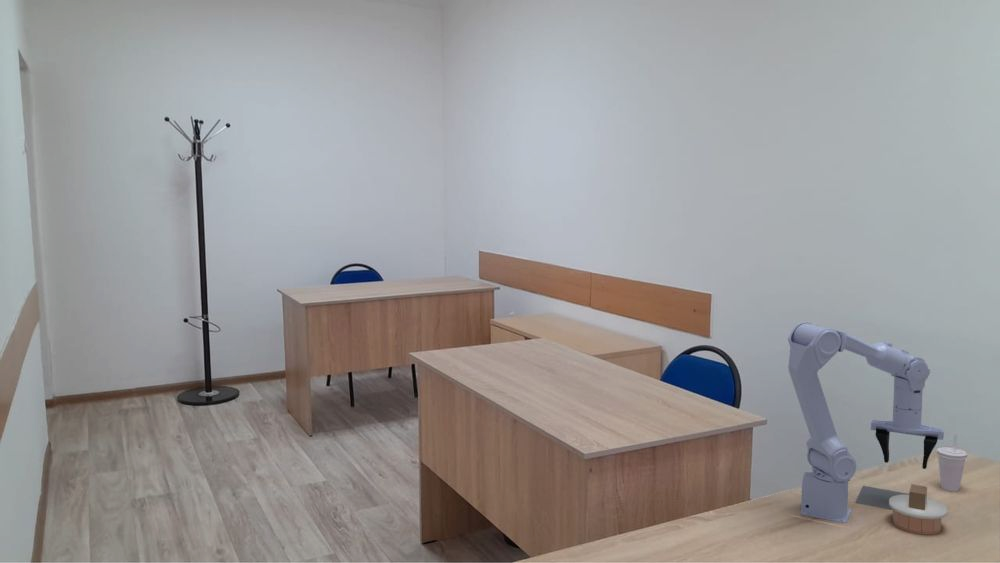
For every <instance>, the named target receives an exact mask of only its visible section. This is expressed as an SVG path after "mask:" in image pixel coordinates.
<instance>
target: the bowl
mask: <svg viewBox="0 0 1000 563" xmlns="http://www.w3.org/2000/svg"><path fill="white" fill-rule="evenodd" d="M942 520H943V518H939V519H922V518H915V517H911V516H907V515H904V514H901V513H899V512H897V511H895V510H892V522H893V524H894V525H895V526H896V527H898V528H899V529H901V530H904V531H906V532H909V533H913V534H918V535H935V534H938V533H941V530H942V523H943V522H942Z"/></svg>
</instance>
